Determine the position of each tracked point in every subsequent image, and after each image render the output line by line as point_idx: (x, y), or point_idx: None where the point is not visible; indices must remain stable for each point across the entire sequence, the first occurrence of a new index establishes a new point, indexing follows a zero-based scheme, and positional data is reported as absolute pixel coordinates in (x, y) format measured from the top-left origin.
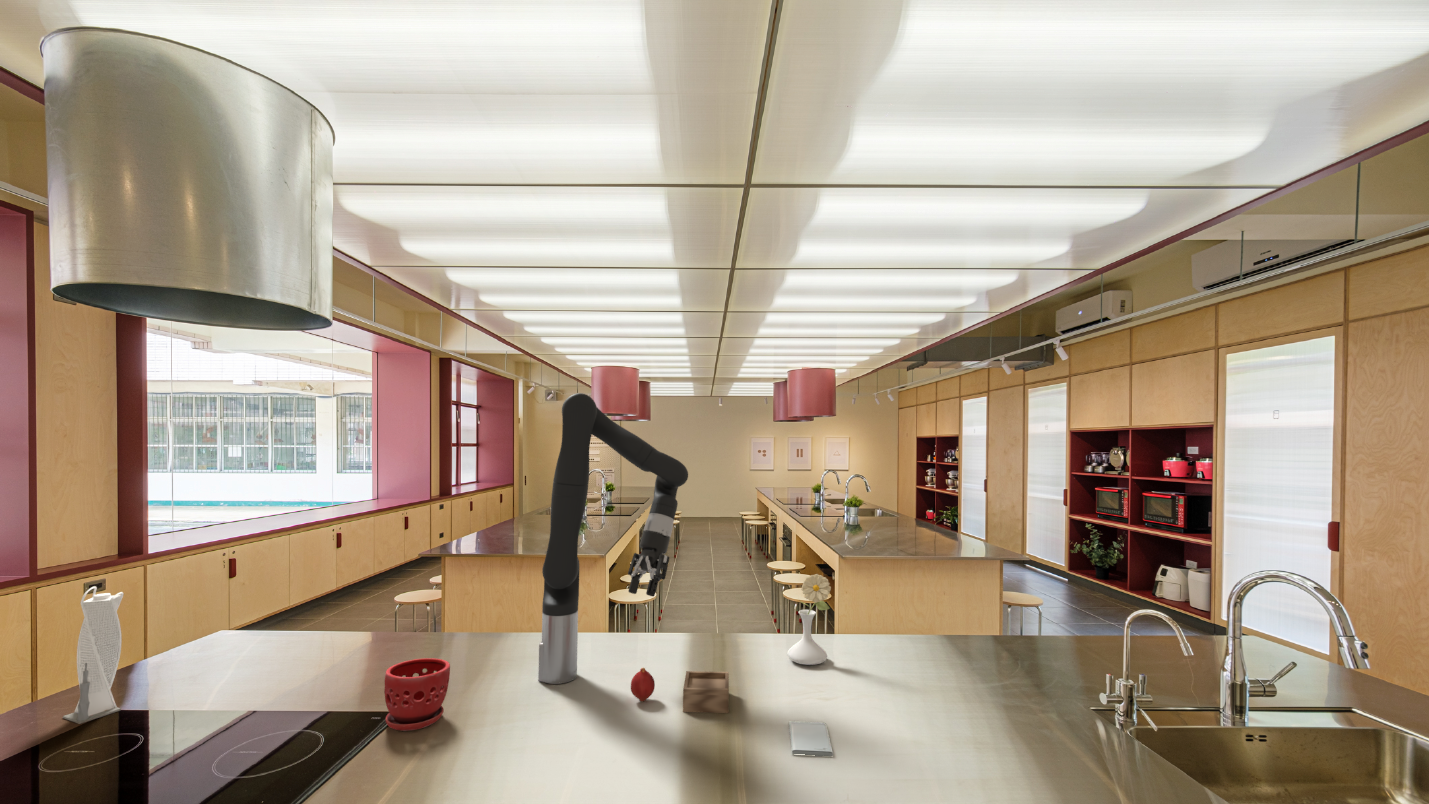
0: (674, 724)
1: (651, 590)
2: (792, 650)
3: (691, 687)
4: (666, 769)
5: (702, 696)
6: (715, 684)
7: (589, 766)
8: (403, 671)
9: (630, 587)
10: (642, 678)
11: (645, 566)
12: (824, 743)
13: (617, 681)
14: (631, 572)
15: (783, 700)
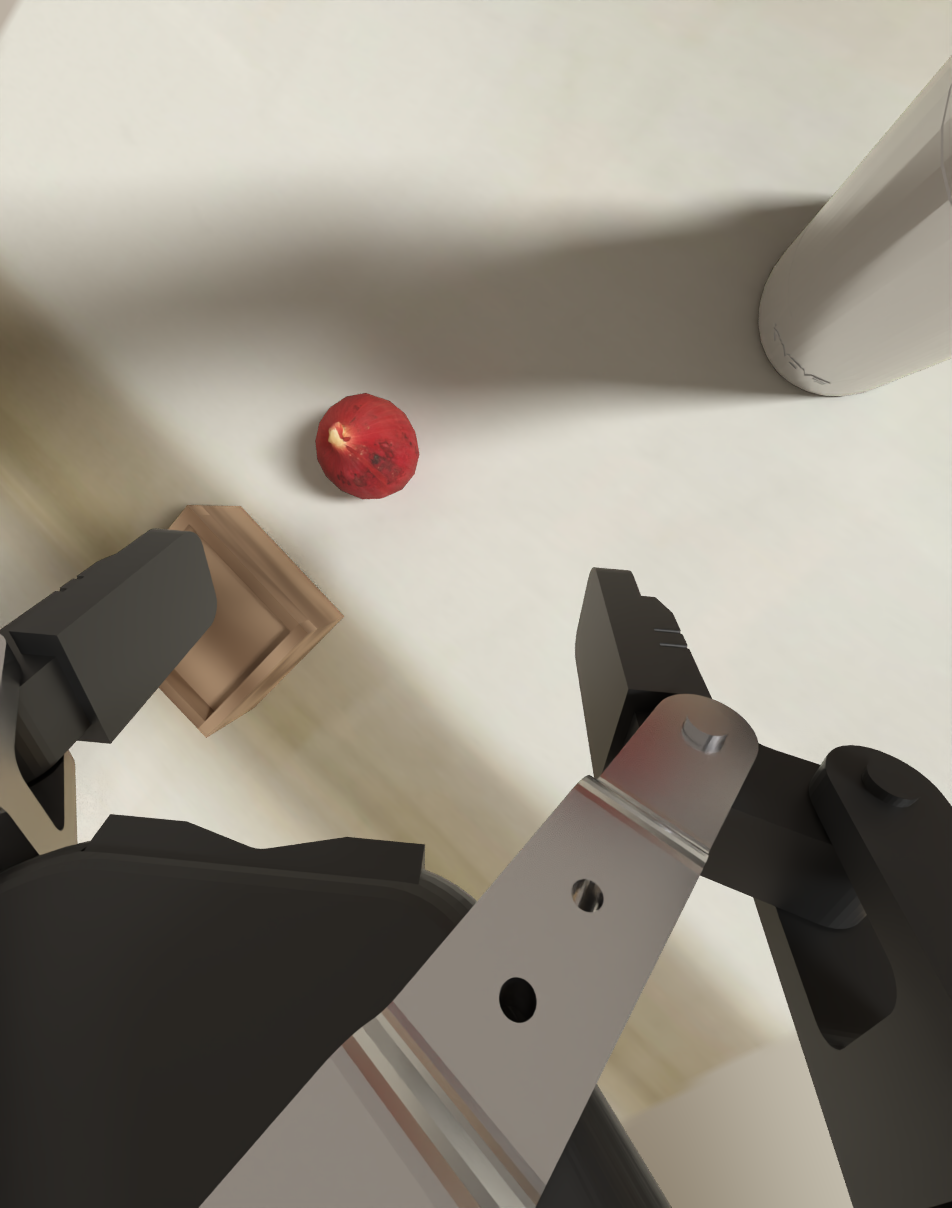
0: (195, 429)
1: (94, 566)
2: None
3: (227, 568)
4: (16, 239)
5: None
6: (197, 649)
7: (140, 43)
8: None
9: (608, 592)
10: (326, 420)
11: (176, 913)
12: None
13: (601, 492)
14: (822, 807)
15: (126, 777)
